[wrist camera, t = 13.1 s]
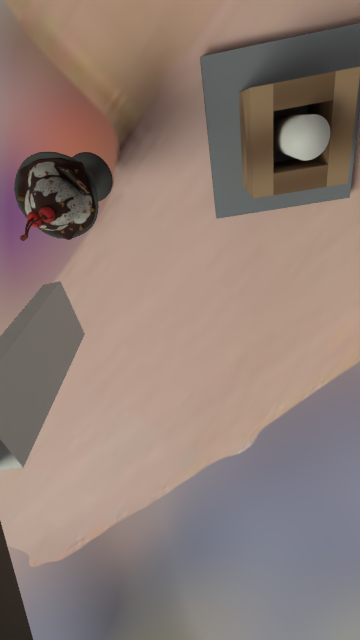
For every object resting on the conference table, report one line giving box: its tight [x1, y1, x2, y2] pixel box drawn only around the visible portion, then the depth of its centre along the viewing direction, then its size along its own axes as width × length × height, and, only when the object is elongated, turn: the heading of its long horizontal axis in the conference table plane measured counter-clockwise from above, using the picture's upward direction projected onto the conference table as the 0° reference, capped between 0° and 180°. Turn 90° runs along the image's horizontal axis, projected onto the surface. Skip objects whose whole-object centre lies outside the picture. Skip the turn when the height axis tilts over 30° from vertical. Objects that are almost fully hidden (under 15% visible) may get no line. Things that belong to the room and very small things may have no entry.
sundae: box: [14, 152, 112, 241], centre depth 28 cm, size 7×7×15 cm
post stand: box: [200, 23, 360, 218], centre depth 28 cm, size 14×14×9 cm
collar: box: [239, 67, 360, 199], centre depth 28 cm, size 8×8×6 cm
